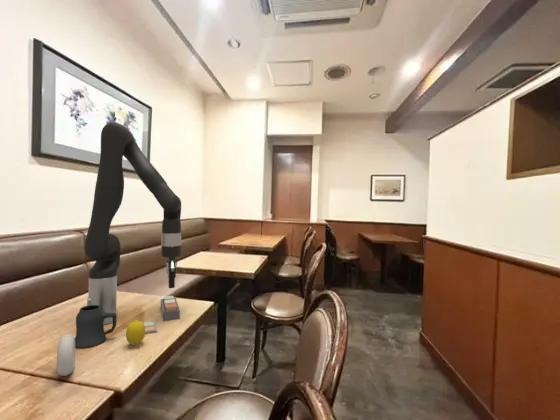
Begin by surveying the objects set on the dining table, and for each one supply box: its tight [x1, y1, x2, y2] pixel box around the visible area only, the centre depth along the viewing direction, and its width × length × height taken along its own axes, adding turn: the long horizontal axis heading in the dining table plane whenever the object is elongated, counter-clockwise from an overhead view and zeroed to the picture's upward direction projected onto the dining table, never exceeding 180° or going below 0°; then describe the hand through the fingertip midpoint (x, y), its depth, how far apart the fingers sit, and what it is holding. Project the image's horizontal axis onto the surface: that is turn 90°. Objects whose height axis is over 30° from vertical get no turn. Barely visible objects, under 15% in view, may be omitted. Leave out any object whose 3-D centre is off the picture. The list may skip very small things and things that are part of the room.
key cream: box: [164, 299, 175, 307], centre depth 119 cm, size 4×4×2 cm
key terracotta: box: [165, 303, 177, 311], centre depth 114 cm, size 4×4×2 cm
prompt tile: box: [142, 320, 158, 335], centre depth 103 cm, size 5×9×1 cm, turn 25°
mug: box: [74, 305, 118, 350], centre depth 93 cm, size 12×9×11 cm
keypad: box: [160, 297, 181, 322], centre depth 119 cm, size 6×17×4 cm, turn 25°
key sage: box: [163, 295, 175, 302], centre depth 124 cm, size 4×4×2 cm
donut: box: [56, 333, 76, 377], centre depth 75 cm, size 10×3×10 cm, turn 32°
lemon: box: [125, 319, 146, 346], centre depth 91 cm, size 6×6×8 cm
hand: (171, 287), depth 114 cm, fingers closed
